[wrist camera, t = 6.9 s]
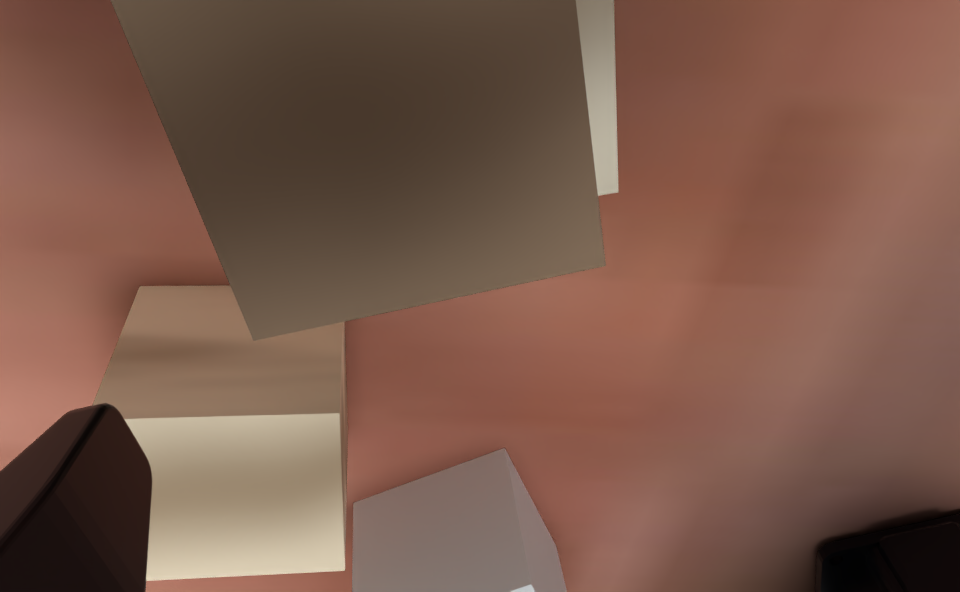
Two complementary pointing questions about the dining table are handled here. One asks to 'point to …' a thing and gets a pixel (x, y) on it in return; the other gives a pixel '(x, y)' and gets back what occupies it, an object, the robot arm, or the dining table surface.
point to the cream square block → (600, 87)
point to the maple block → (233, 436)
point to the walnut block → (375, 147)
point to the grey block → (455, 534)
